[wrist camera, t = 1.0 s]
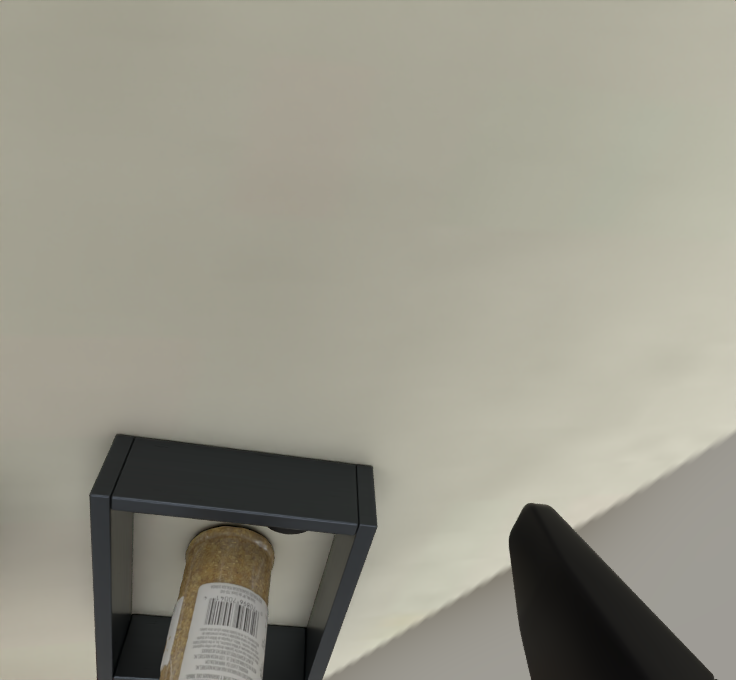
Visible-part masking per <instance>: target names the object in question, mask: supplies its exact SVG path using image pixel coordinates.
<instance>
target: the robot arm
mask: <svg viewBox="0 0 736 680" xmlns="http://www.w3.org/2000/svg"><path fill="white" fill-rule="evenodd" d="M509 551H510V558H511V566H512V574H513V582H514V590H515V598H516V606H517V614H518V620H519V627H520V632H521V637H522V642H523V646H524V650H525V655H526V659H527V664H528V668H529V672H530V676H531V680H717V679H714V676H713V674H712V673H711V672H710V671H709V670H708V669H707V668H706V667H705V666H704V665H703V664H702V663H701V662H700V661H699V660H698V659H697V658H696V656H695V655H694V654H693V653H691V651H690V650H689V649H688V648H687V647H686V646H685V645H684V644H683V643H682V642H681V641H680V640H679V639H678V638H677V637H676V636H675V635H674V634H673V633H672V632H671V630H670V629H669V628H668V627H667V626H666V625H665V624H664V623H663V622H662V621H661V620H660V619H659V618H658V617H657V616H656V615H655V614H654V613H653V612H652V611H651V610H650V609H649V608H648V607H647V606H646V605H645V603H643V601H642V600H641V599H640V598H639V597H638V596H637V595H636V594H635V593H634V592H633V591H632V590H631V589H630V588H629V587H628V586H627V585H626V584H625V583H624V582H623V581H622V580H621V578H619V576H617V574H616V573H615V572H614V571H613V570H612V569H611V568H610V567H609V566H608V565H607V564H606V563H605V562H604V561H603V560H602V559H601V558H600V557H599V556H598V555H597V554H596V553H595V551H593V549H592V548H591V547H590V546H589V545H588V544H587V543H586V542H585V541H584V540H583V539H582V538H581V537H580V536H579V535H578V534H577V533H576V532H575V531H574V530H573V529H572V527H571V526H570V525H569V524H568V523H567V522H566V521H565V520H564V519H563V518H562V517H561V516H560V515H559V514H558V513H557V512H556V511H555V510H554V509H553V508H552V507H550V506H549V505H544V504H535V503H528V504H527V505H525V506H524V508H523V509H522V511H521V513H520V515H519V517H518V519H517V521H516V523H515V524H514V526H513V528H512V530H511V532H510V536H509Z"/></svg>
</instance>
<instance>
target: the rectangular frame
mask: <svg viewBox="0 0 736 680" xmlns="http://www.w3.org/2000/svg"><path fill="white" fill-rule="evenodd" d="M89 496H90V520H91V545H92V569H93V593H94V617H95V642H96V666H97V680H159V679H160V669H161V663H162V658H163V654H164V650H165V646H166V641H167V636H168V632H169V628H170V623H171V619H172V618H171V617H158V616H145V615H132V616H131V609H132V554H133V512H136V513H145V514H154V515H164V516H173V517H183V518H192V519H201V520H211V521H220V522H230V523H239V524H248V525H258V526H267V527H268V528H270V529H271V530H273V531H275V532H278V533H283V534H299V533H303V532H306V531H314V532H324V533H333V534H335V537H334V540H333V544H332V547H331V550H330V553H329V557H328V560H327V563H326V567H325V570H324V573H323V576H322V580H321V583H320V586H319V590H318V593H317V596H316V599H315V603H314V606H313V609H312V613H311V616H310V619H309V622H308V626H307V629H306V628H299V627H286V626H273V625H267V634H266V645H265V655H264V666H263V677H262V680H322V679H323V676H324V673H325V671H326V668H327V665H328V662H329V660H330V657H331V654H332V651H333V648H334V646H335V643H336V640H337V637H338V635H339V632H340V629H341V626H342V623H343V621H344V618H345V615H346V612H347V610H348V607H349V604H350V601H351V598H352V596H353V593H354V590H355V587H356V585H357V582H358V579H359V576H360V573H361V571H362V568H363V565H364V562H365V560H366V557H367V554H368V551H369V548H370V546H371V543H372V540H373V537H374V535H375V532H376V529H377V515H376V502H375V490H374V477H373V467H372V466H365V465H354V464H346V463H338V462H331V461H323V460H315V459H307V458H299V457H291V456H283V455H275V454H268V453H260V452H252V451H244V450H236V449H228V448H220V447H213V446H205V445H197V444H189V443H181V442H173V441H165V440H157V439H150V438H142V437H136V438H134V437H133V436H127V435H119V434H118V435H116V436H115V439H114V441H113V443H112V445H111V448H110V450H109V452H108V454H107V457H106V459H105V461H104V463H103V466H102V468H101V470H100V472H99V475H98V477H97V479H96V481H95V483H94V486H93V488H92V490H91V492H90V495H89Z"/></svg>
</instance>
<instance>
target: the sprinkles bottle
mask: <svg viewBox="0 0 736 680" xmlns="http://www.w3.org/2000/svg"><path fill="white" fill-rule="evenodd" d="M274 559H275V557H274V551H273V549H272V546H271V545H270V544H269V542H268V541H267V540H266V539H265V538H264V537H263V536H261V535H260V534H258V533H255V532H253V531H251V530H248V529H244V528H238V527H231V526H223V527H217V528H213V529H209V530H206V531H203V532H201V533H200V534H199V535H198V536H196V537H195V538H194V539H193V540H192V541H191V543H190V545H189V546H188V549H187V551H186V566H185V570H184V574H183V580H182V583H181V587H180V593H179V597H178V600H177V603H176V605H175V608H174V611H173V615H172V619H171V623H170V628H169V632H168V636H167V641H166V646H165V650H164V654H163V658H162V663H161V669H160V679H159V680H262V677H263V666H264V655H265V645H266V634H267V623H268V596H269V587H270V577H271V570H272V568H273V564H274Z"/></svg>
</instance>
